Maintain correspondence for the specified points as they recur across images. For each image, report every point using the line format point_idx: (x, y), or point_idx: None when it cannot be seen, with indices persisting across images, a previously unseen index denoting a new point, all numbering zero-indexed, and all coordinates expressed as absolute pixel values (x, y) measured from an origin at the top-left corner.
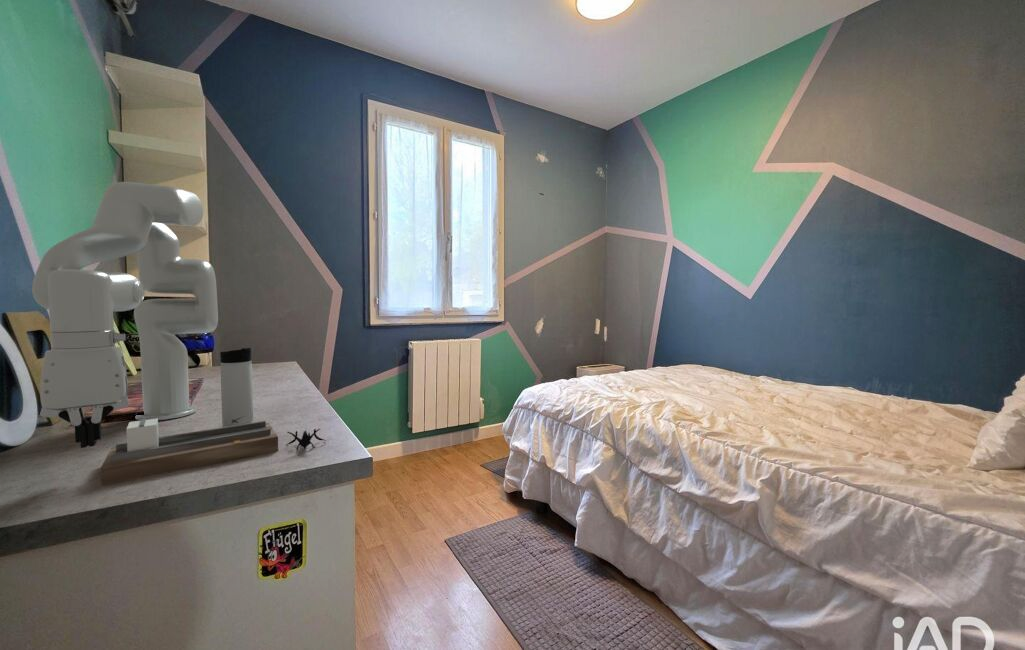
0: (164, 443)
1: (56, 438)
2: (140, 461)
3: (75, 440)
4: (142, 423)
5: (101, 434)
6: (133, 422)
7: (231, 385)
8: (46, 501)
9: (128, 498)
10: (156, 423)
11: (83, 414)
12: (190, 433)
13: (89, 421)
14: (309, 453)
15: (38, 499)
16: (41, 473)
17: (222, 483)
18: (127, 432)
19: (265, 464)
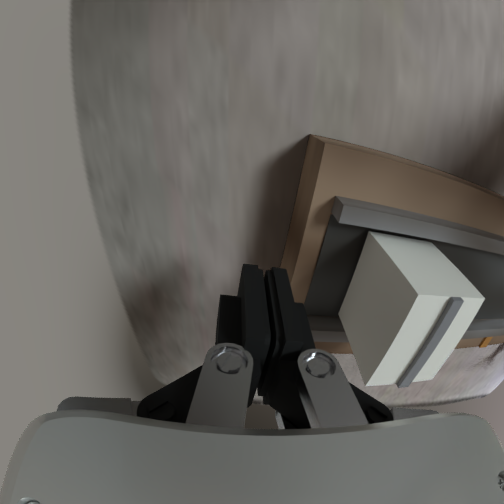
0: (439, 242)
1: None
2: (346, 353)
3: (216, 330)
4: (417, 368)
5: (303, 308)
6: (421, 314)
7: None
8: (181, 331)
9: None
10: (440, 367)
11: (249, 387)
12: (495, 252)
13: (269, 401)
14: (498, 356)
15: (165, 311)
16: (135, 86)
17: (391, 401)
18: (363, 374)
19: (457, 367)
